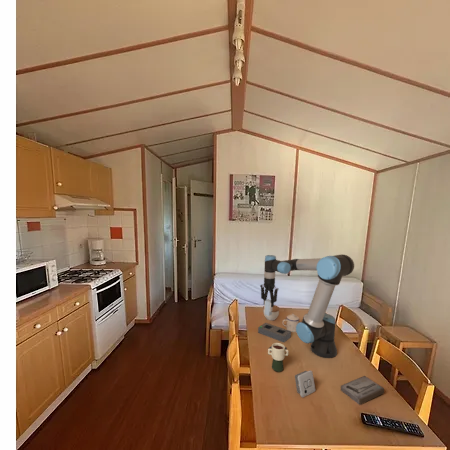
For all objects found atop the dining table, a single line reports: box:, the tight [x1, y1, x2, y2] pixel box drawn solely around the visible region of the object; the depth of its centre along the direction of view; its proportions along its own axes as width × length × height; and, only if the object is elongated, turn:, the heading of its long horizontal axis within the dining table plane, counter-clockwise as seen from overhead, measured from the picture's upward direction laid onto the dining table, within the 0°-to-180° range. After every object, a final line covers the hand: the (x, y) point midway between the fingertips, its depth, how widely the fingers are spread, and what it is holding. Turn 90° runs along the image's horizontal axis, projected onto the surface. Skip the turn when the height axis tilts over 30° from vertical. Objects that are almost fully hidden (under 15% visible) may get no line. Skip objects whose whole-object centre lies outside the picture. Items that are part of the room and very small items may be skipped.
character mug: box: [267, 342, 289, 373], centre depth 139 cm, size 11×7×13 cm, turn 85°
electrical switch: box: [294, 370, 316, 398], centre depth 123 cm, size 9×5×9 cm, turn 121°
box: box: [340, 375, 385, 406], centre depth 123 cm, size 11×17×3 cm, turn 115°
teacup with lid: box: [282, 313, 300, 333], centre depth 186 cm, size 12×9×12 cm
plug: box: [265, 298, 272, 316], centre depth 180 cm, size 4×4×10 cm
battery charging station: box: [257, 322, 292, 343], centre depth 178 cm, size 20×10×5 cm, turn 51°
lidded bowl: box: [262, 304, 280, 321], centre depth 204 cm, size 13×13×11 cm
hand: (268, 310), depth 180 cm, fingers closed on plug, 3 cm apart
